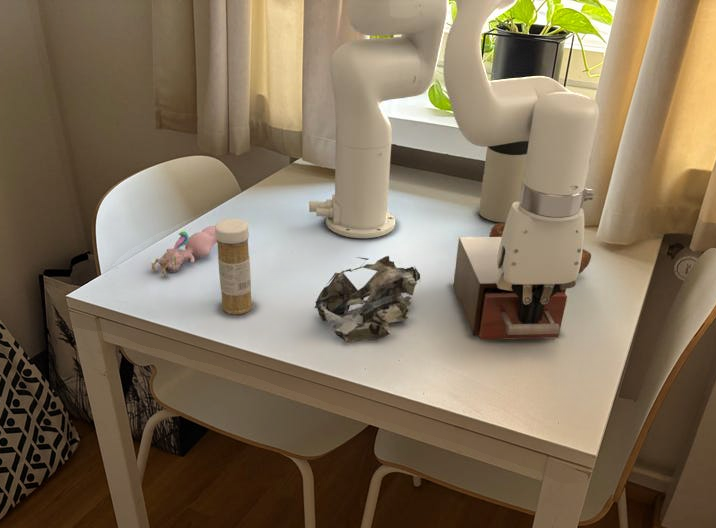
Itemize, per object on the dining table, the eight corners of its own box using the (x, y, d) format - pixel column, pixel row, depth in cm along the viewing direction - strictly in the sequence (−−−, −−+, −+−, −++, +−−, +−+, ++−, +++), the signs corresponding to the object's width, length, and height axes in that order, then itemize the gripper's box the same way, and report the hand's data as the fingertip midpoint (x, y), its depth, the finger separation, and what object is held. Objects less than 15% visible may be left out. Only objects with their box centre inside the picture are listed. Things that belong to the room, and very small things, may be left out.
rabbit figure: (174, 288, 119) (242, 243, 128) (165, 256, 115) (235, 212, 124) (148, 275, 122) (216, 232, 131) (138, 244, 118) (209, 201, 127)
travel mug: (528, 215, 146) (544, 122, 136) (504, 227, 141) (519, 131, 131) (494, 203, 150) (507, 111, 140) (470, 214, 145) (482, 119, 135)
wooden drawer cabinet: (556, 334, 112) (567, 282, 107) (472, 335, 110) (479, 283, 105) (529, 285, 123) (538, 236, 119) (453, 286, 122) (458, 236, 117)
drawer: (569, 357, 105) (579, 314, 101) (488, 359, 104) (495, 316, 100) (532, 290, 120) (539, 251, 116) (461, 291, 119) (466, 252, 115)
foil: (307, 279, 114) (394, 231, 111) (345, 333, 119) (429, 288, 116) (303, 317, 104) (399, 265, 101) (345, 373, 110) (437, 326, 106)
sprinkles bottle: (244, 297, 116) (239, 214, 108) (258, 311, 113) (254, 227, 105) (216, 305, 113) (208, 221, 106) (229, 319, 110) (223, 234, 103)
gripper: (598, 187, 99) (571, 309, 109) (485, 187, 97) (469, 311, 107) (619, 210, 92) (589, 338, 103) (499, 211, 91) (480, 340, 101)
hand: (528, 324), depth 105 cm, fingers closed
